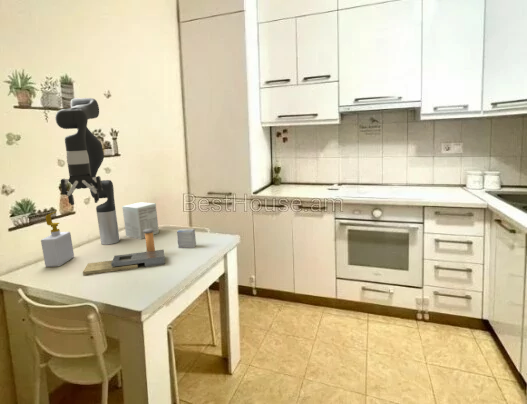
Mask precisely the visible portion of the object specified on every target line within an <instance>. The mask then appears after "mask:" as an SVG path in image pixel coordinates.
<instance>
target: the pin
mask: <svg viewBox="0 0 527 404" xmlns="http://www.w3.org/2000/svg"><path fill="white" fill-rule="evenodd" d="M143 231H144V233H145V238H144V239H145V246H146V252H148V251H156V249H155V248H156V247H155V238H154V235H153V232H154V229H152V228H150V229H145V230H143Z"/></svg>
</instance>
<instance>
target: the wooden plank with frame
mask: <svg viewBox="0 0 527 404" xmlns="http://www.w3.org/2000/svg"><path fill="white" fill-rule="evenodd" d="M165 259H166V258H165V250H164V249H157V250H156V249H155V251H148V252H147V251H141V252H133V253H125V254H124V253H123V254H118V255H117V254H115V255H113V259H112V260H107V261H106V260H104V261H97V262H89V263H87V264H86V266H85V267H84V269H83V270H82V275H83V276H89V275H94V274H95V275H97V274H102V273H104V274H105V273H111V272H119V271H127V270H133V269H138V268H139V264H144V267H145V268H147V267H157V266H162V265H165Z"/></svg>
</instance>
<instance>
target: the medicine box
mask: <svg viewBox="0 0 527 404" xmlns="http://www.w3.org/2000/svg"><path fill="white" fill-rule="evenodd" d="M195 231H196V229H195V228H180V229H178V230H177V231H176V236H177V244H178V246H177V247H178V249H184V248H185V249H186V248H188V249H189V248H193V249H194V248H195V247H196V245H197V240H196V239H197V238H196V232H195Z"/></svg>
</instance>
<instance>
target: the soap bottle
mask: <svg viewBox="0 0 527 404" xmlns="http://www.w3.org/2000/svg"><path fill="white" fill-rule="evenodd" d="M55 213H56V211H53V212H52V213H49V214H46V215H45V222H46V225H47V226H50V228H52V229H50V235H48V236H46V237H44V238H42V239H41V240H40V242H41V250H42V255H43V260H44V261H43V262H44V266H45V267H48V268H49V267H50V268H51V267H52V268H53V267H60V266H62V265H64V264H66V263H67V262H69V261H70V260H71V259H74V257H75V253H74V248H73V242H72V235H71V232H70V231H60V228H58V226H59V224H60V222H53V221H52V214H55Z"/></svg>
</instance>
